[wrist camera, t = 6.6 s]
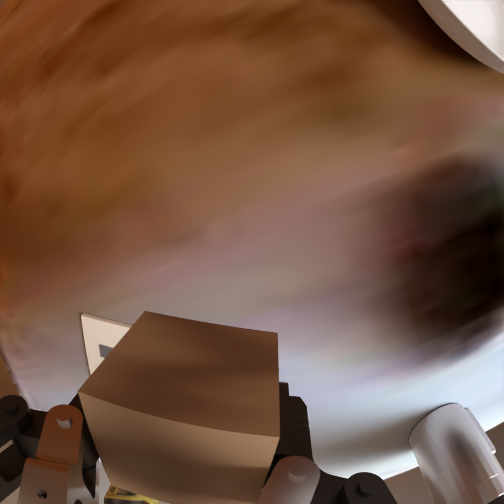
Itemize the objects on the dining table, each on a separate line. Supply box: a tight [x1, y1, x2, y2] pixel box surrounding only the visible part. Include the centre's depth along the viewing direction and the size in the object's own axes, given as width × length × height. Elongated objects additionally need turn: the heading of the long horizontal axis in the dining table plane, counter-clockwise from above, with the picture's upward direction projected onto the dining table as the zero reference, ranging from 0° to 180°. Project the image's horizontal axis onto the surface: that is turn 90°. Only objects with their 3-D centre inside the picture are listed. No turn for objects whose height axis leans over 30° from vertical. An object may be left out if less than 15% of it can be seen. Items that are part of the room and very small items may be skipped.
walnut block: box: [78, 311, 280, 504], centre depth 9 cm, size 5×5×5 cm
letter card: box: [81, 313, 132, 374], centre depth 30 cm, size 15×15×1 cm
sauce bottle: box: [104, 485, 159, 504], centre depth 24 cm, size 7×6×20 cm
